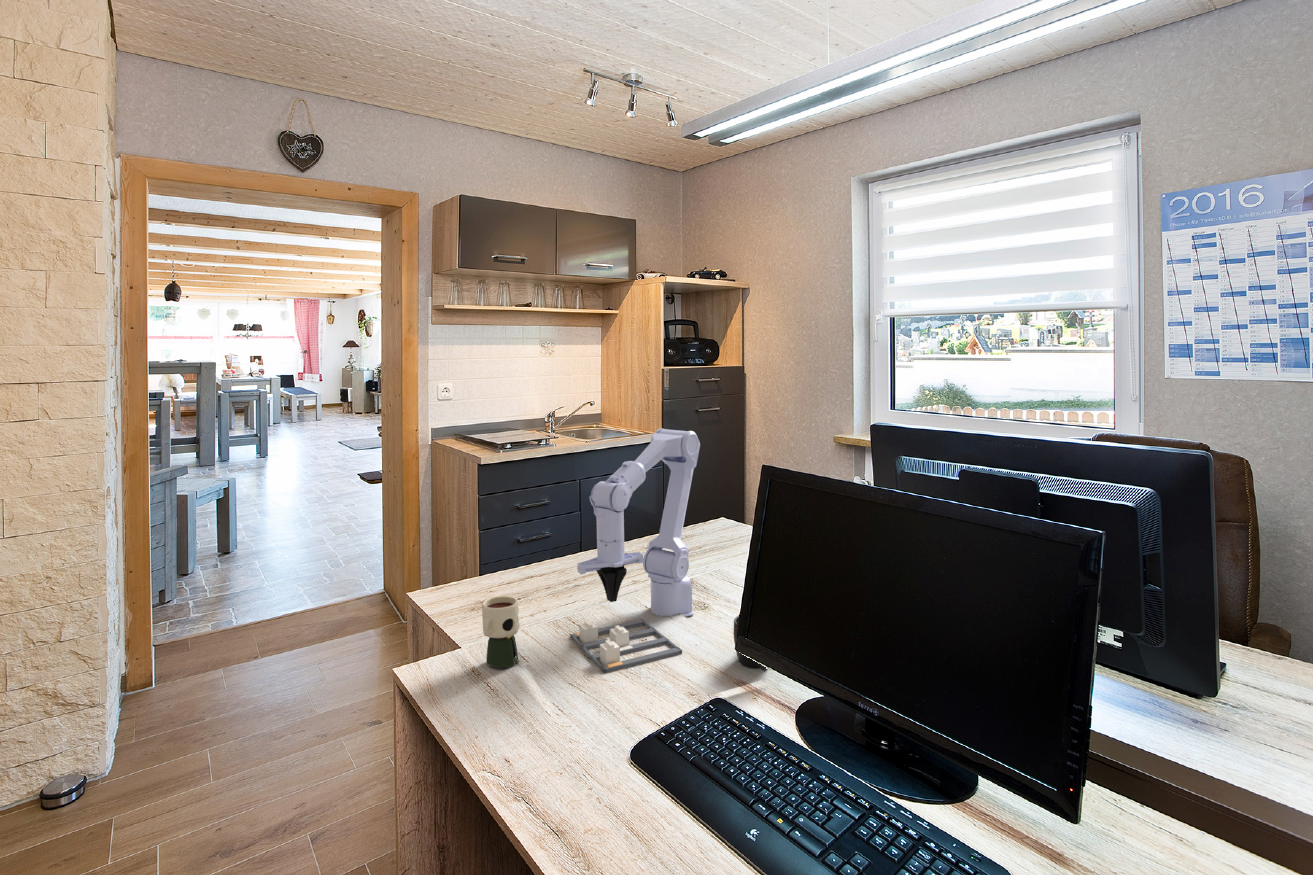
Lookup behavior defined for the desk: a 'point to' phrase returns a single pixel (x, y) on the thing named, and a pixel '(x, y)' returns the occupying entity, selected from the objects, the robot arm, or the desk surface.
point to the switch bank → (630, 648)
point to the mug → (743, 659)
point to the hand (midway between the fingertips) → (611, 600)
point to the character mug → (501, 630)
